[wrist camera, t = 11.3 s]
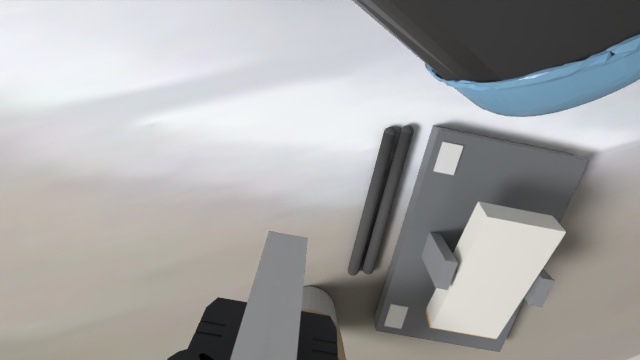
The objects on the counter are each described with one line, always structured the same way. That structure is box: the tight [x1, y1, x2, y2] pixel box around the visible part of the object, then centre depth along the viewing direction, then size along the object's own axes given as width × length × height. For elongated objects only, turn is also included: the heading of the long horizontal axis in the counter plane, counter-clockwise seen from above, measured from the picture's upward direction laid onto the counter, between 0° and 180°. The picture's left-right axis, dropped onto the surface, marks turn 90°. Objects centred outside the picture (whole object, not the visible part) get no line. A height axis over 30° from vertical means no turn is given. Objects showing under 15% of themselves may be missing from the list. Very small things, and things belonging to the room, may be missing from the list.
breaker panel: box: [374, 126, 588, 352], centre depth 38 cm, size 24×15×8 cm, turn 169°
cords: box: [348, 125, 413, 276], centre depth 40 cm, size 18×3×1 cm, turn 169°
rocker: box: [426, 201, 566, 339], centre depth 36 cm, size 14×7×2 cm, turn 169°
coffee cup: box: [301, 286, 346, 360], centre depth 38 cm, size 9×9×15 cm
